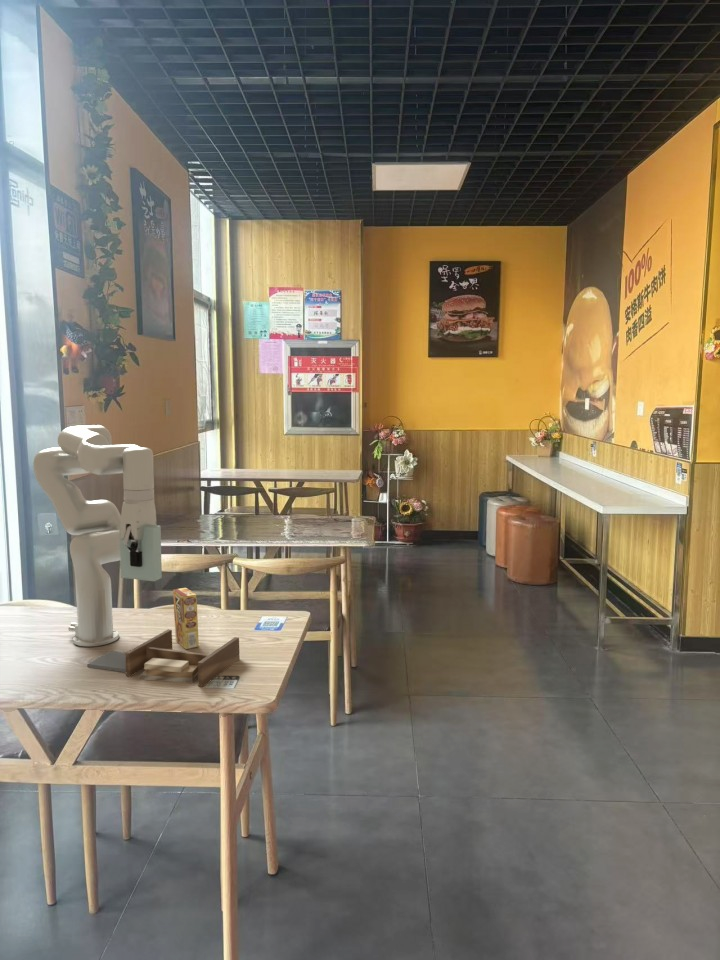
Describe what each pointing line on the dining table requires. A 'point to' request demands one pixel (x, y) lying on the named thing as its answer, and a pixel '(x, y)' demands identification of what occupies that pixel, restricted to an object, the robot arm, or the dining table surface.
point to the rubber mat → (110, 661)
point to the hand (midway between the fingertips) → (140, 563)
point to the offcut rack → (183, 656)
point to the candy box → (186, 618)
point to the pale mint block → (144, 556)
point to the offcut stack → (169, 670)
